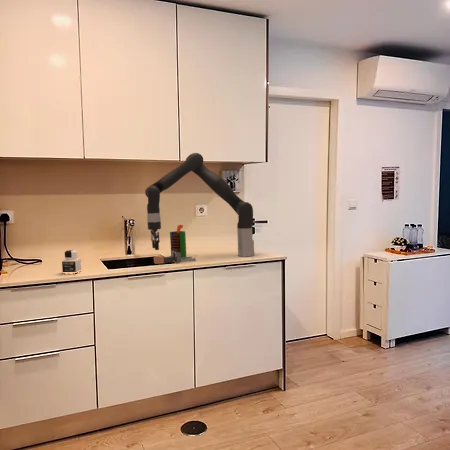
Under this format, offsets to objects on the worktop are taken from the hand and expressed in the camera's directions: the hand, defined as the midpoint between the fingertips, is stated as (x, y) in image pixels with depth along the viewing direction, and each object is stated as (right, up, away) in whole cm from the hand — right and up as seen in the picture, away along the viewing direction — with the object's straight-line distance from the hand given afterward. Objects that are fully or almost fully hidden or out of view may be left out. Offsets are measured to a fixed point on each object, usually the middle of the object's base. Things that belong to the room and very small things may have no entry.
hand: (155, 249), depth 240 cm
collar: (+16, -7, +6) cm, 18 cm away
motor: (+11, -6, +22) cm, 26 cm away
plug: (+5, -8, +2) cm, 10 cm away
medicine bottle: (-40, -12, -22) cm, 47 cm away
